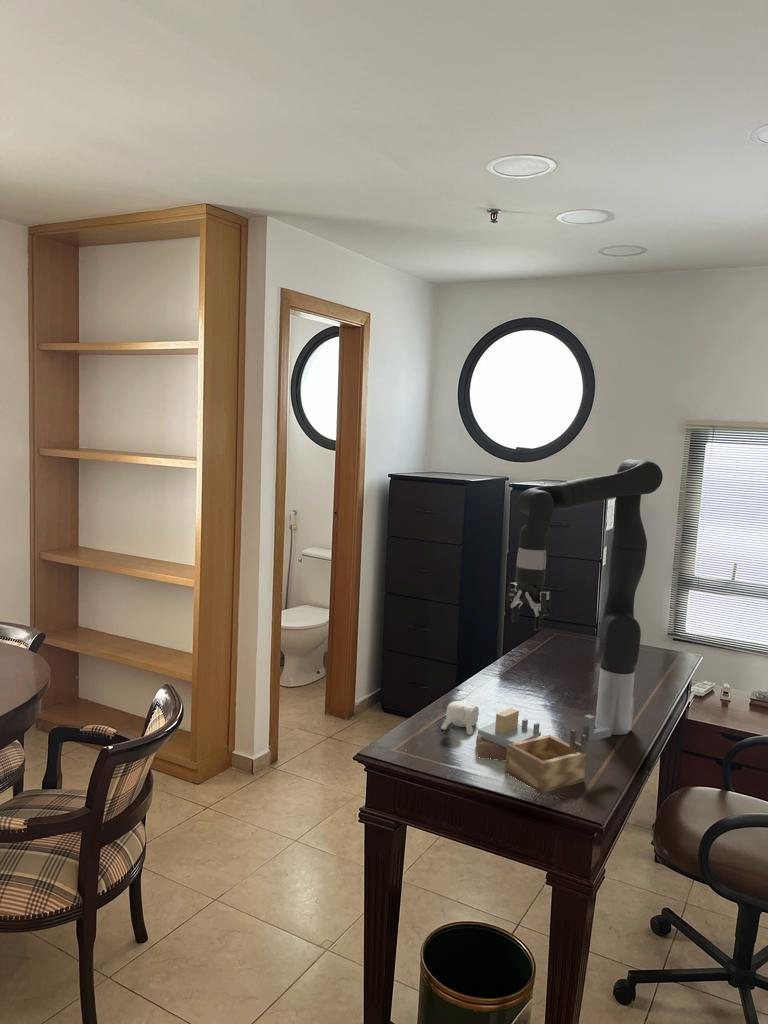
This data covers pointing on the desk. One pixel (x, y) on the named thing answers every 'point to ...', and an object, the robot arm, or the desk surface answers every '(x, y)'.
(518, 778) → the wooden box
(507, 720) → the lid
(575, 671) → the desk surface
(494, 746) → the brick
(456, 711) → the white animal figurine
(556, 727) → the desk surface
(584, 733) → the grey angled block
